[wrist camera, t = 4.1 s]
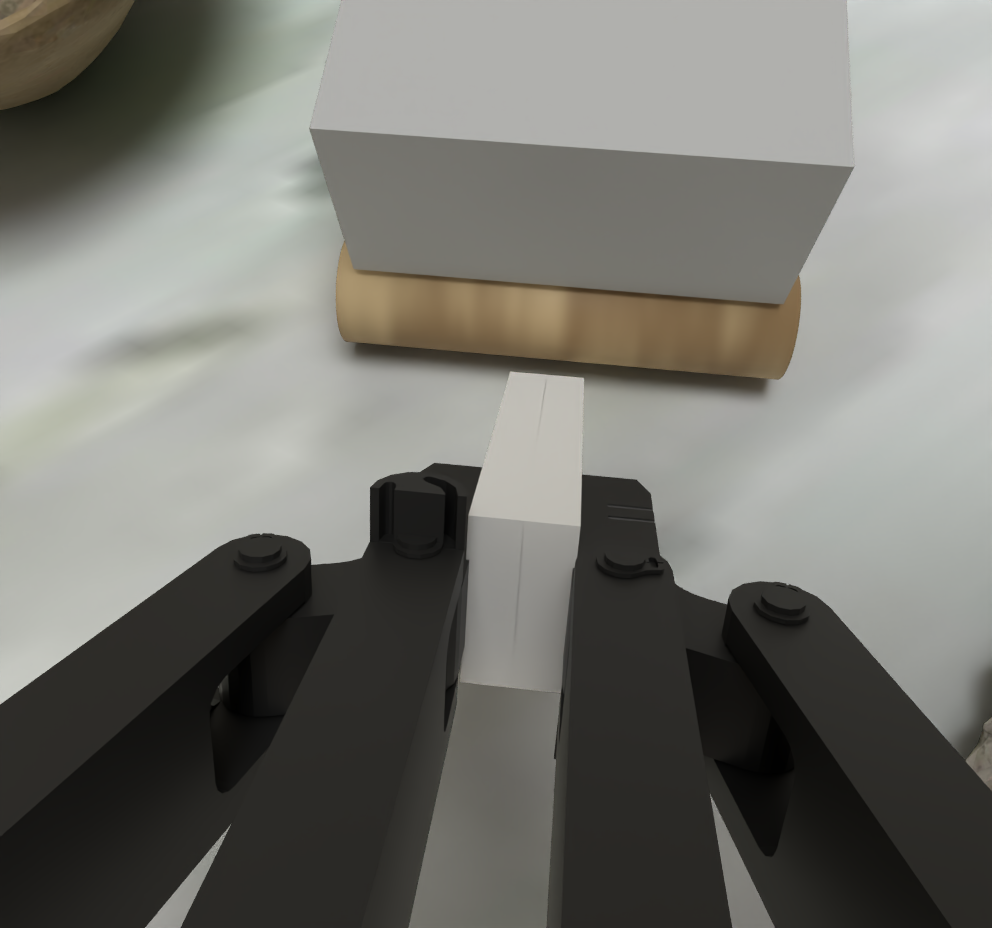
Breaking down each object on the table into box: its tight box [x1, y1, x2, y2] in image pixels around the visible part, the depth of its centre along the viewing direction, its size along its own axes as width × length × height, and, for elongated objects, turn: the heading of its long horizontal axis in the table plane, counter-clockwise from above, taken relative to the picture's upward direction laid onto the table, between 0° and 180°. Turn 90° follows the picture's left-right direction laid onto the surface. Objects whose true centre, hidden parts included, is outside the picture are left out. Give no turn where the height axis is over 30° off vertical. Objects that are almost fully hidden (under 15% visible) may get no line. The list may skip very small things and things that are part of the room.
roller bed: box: [336, 241, 801, 379], centre depth 26 cm, size 12×15×3 cm
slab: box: [309, 0, 854, 304], centre depth 22 cm, size 11×10×5 cm
